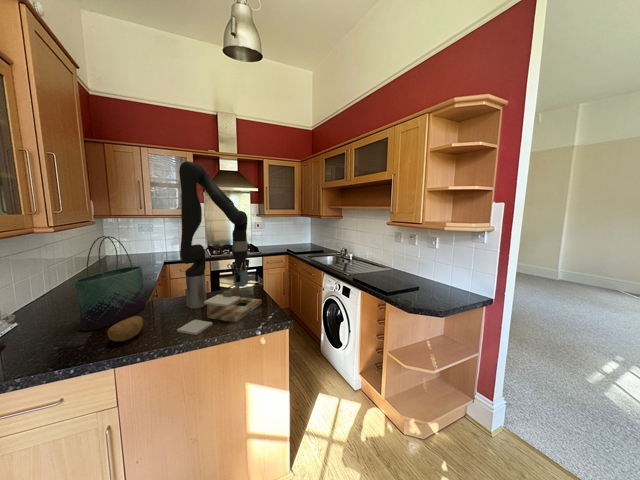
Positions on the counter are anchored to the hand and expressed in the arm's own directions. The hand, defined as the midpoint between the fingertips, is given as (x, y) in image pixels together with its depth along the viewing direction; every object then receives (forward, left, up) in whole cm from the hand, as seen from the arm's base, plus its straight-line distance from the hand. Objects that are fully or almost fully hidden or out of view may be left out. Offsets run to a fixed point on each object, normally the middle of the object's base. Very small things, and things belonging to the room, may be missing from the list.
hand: (241, 280), depth 135 cm
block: (0, 0, -2) cm, 2 cm away
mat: (-6, -27, -14) cm, 31 cm away
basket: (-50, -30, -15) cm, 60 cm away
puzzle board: (0, -5, -14) cm, 15 cm away
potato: (-26, -42, -15) cm, 52 cm away
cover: (0, -16, -6) cm, 17 cm away
